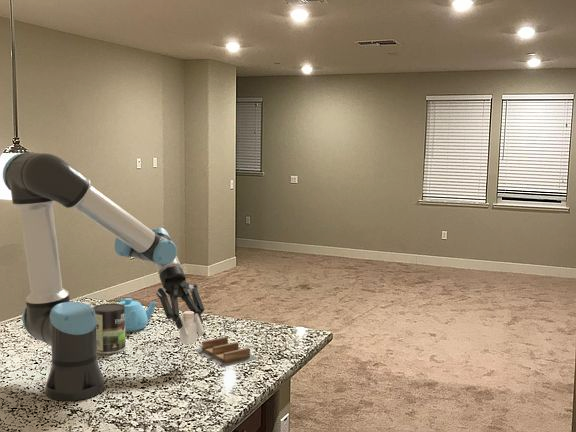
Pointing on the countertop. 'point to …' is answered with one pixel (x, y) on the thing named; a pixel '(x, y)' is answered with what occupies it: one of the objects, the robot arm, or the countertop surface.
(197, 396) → the countertop surface
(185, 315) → the salt shaker
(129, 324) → the teapot
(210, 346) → the rack
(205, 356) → the mat
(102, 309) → the coffee can
